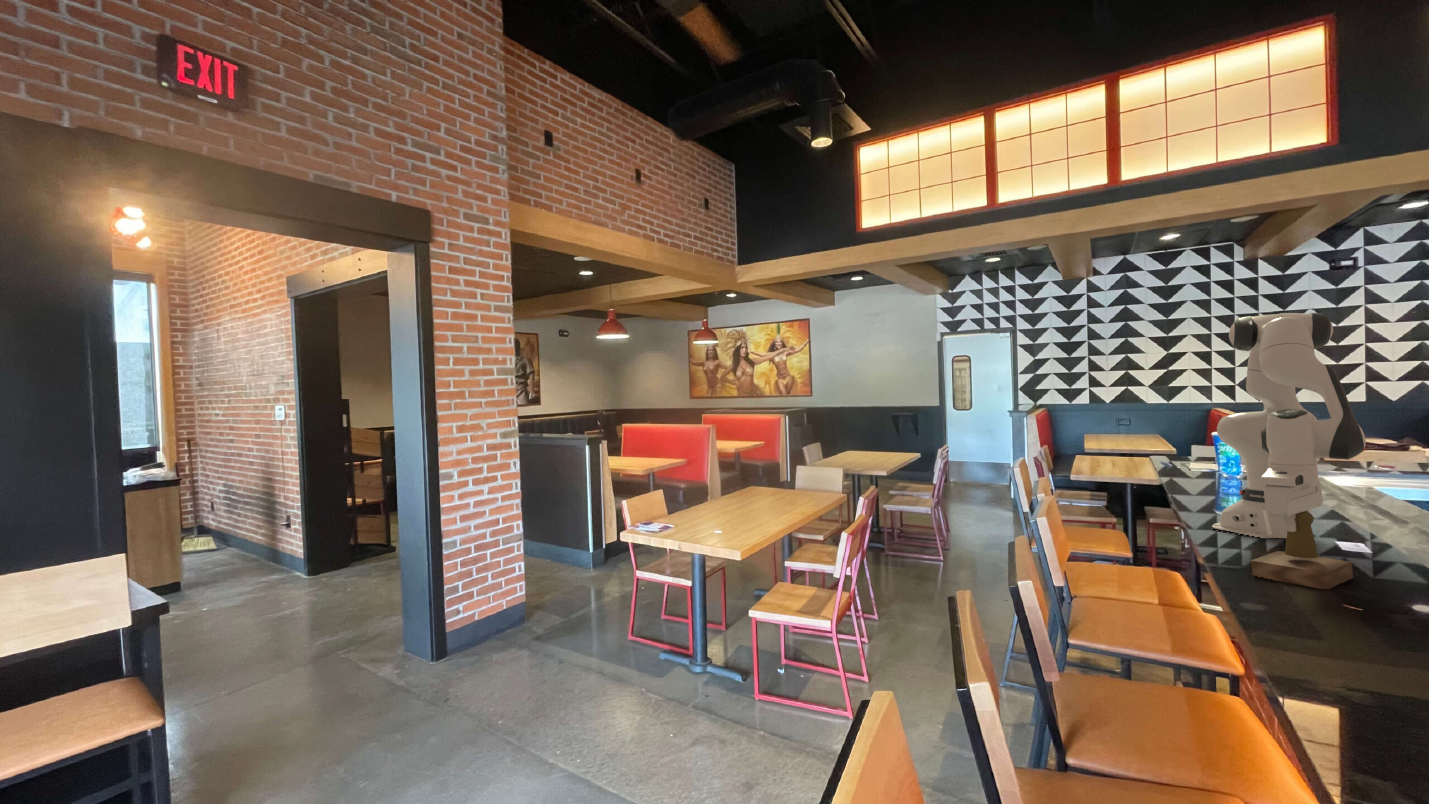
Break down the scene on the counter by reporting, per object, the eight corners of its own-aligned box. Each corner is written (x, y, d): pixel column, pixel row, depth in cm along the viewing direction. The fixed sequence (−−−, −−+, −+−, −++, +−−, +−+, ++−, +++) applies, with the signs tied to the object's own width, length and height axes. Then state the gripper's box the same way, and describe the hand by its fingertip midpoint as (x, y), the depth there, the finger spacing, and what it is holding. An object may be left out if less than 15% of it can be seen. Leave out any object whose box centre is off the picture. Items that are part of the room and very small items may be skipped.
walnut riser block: (1252, 575, 150) (1251, 560, 150) (1279, 565, 156) (1277, 550, 156) (1326, 589, 138) (1325, 572, 138) (1353, 578, 144) (1351, 561, 144)
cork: (1303, 550, 150) (1299, 508, 150) (1326, 557, 144) (1322, 512, 144) (1278, 552, 150) (1274, 509, 150) (1299, 558, 144) (1296, 514, 144)
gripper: (1296, 468, 155) (1300, 520, 155) (1256, 478, 146) (1261, 533, 146) (1329, 470, 149) (1333, 524, 149) (1290, 480, 140) (1294, 538, 140)
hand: (1297, 529), depth 147 cm, fingers closed on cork, 4 cm apart
